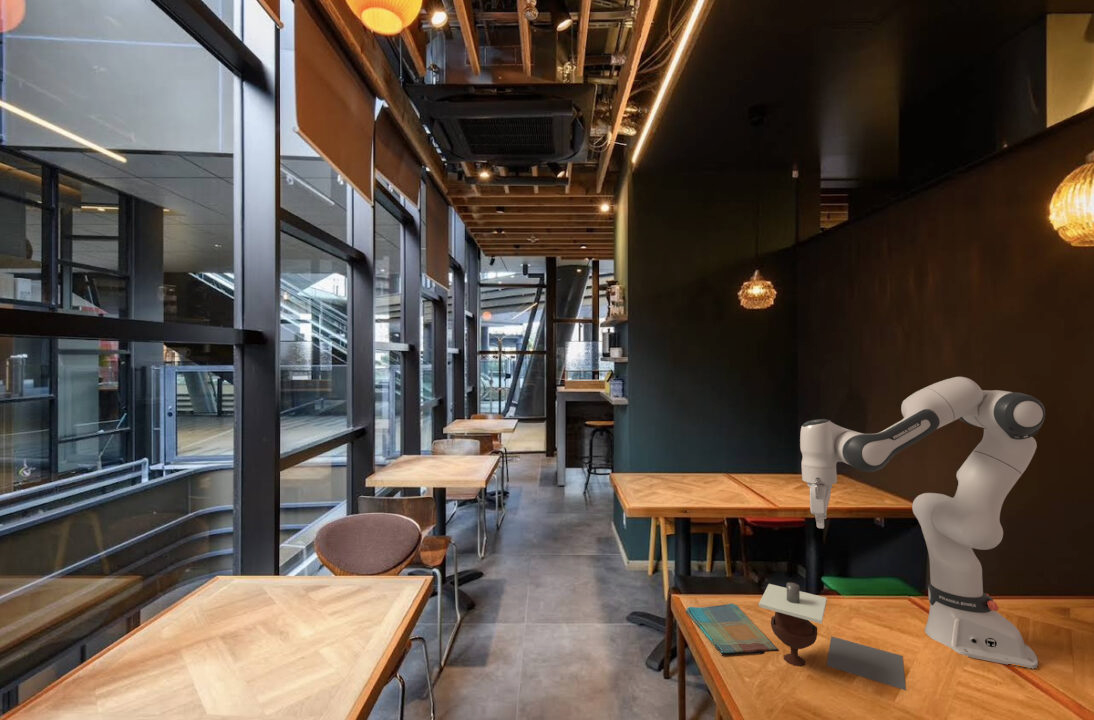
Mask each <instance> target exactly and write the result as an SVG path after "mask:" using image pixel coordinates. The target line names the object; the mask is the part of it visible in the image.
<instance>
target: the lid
mask: <svg viewBox="0 0 1094 720" xmlns="http://www.w3.org/2000/svg"><path fill="white" fill-rule="evenodd" d="M827 600H828V598H827V597H826V596H821V595H816V594H813V593H809V592H804V591H801V590H800V585H799V584H798V583H795V582H787V583H786V587H784V586H779V585H776V584H771V583H768V584H767V586H766V589H765V591H764V593H763V595H762V596H761V598H760V601H759V602H758V608H762V609H766V610H769V611H772V612H780V613H783V614H787V615H791V616H794V617H798V618H802V619H805V620H808V621H810V622H812V623H817V624H820V625H821V624H823V621H824V615H825V611H826V607H827Z"/></svg>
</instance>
